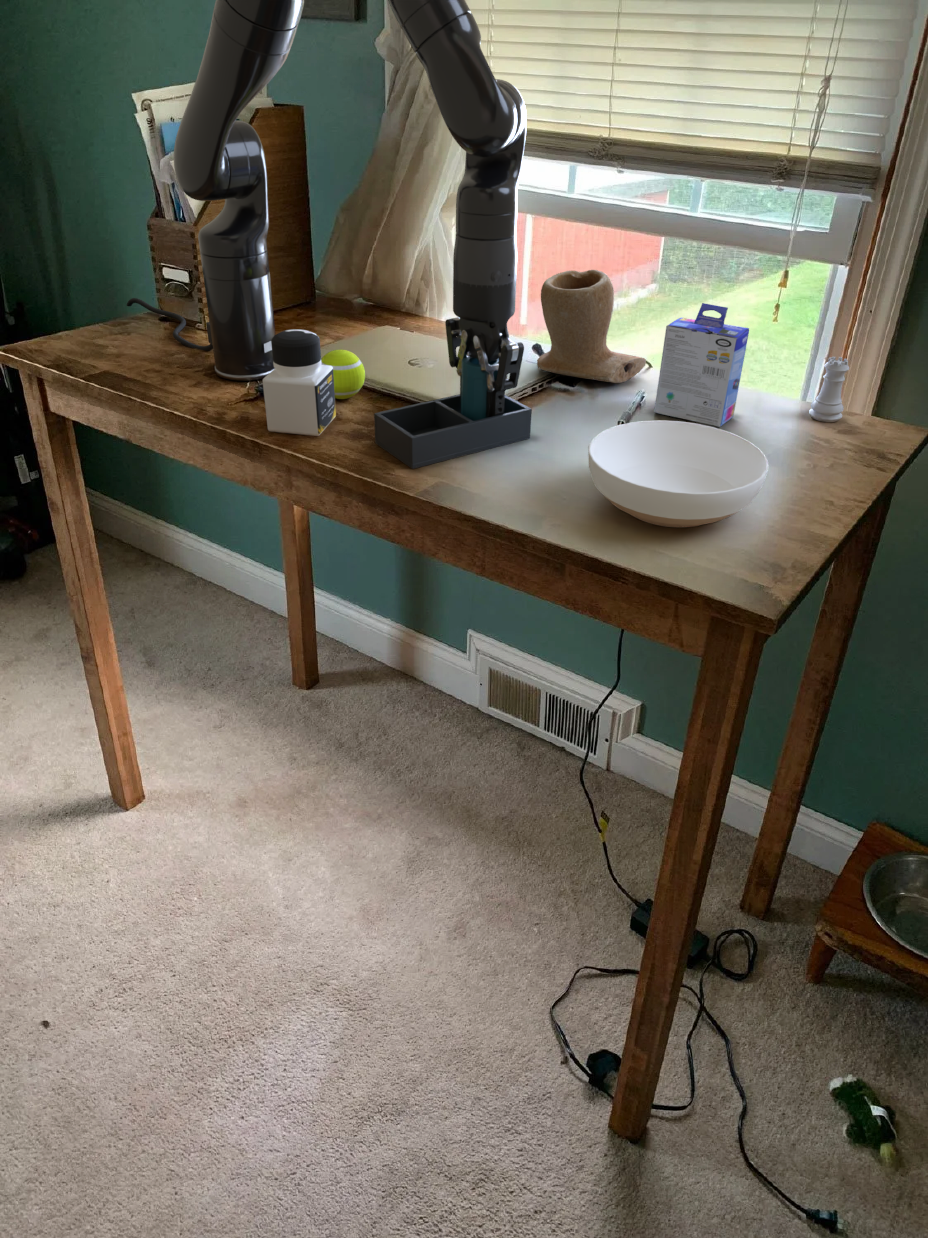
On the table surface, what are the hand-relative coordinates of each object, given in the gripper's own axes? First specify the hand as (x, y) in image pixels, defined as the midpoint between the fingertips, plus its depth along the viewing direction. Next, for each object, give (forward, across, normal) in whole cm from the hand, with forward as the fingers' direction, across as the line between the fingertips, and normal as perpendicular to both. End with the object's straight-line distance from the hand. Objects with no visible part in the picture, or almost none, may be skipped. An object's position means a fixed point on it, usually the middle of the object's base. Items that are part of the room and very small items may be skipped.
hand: (481, 410), depth 121 cm
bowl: (+4, -28, -7) cm, 29 cm away
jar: (+2, 0, 0) cm, 2 cm away
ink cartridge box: (+3, -10, -29) cm, 31 cm away
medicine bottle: (+3, +15, +18) cm, 24 cm away
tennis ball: (+3, +21, +9) cm, 23 cm away
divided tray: (+3, 0, +4) cm, 5 cm away
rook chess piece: (+3, -20, -44) cm, 48 cm away
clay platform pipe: (+3, +10, -26) cm, 28 cm away
